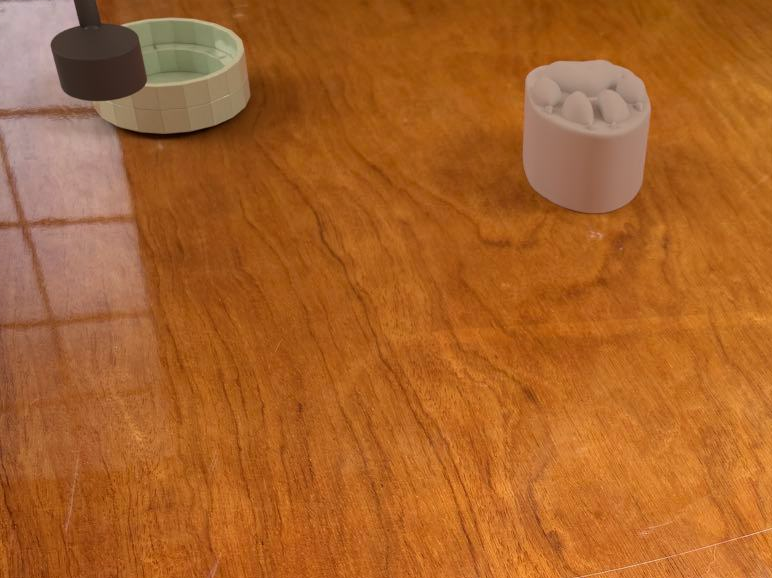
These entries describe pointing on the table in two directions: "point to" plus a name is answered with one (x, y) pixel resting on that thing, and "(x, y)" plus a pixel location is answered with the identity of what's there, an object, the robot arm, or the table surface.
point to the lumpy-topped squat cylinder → (585, 134)
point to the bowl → (183, 78)
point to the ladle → (98, 58)
